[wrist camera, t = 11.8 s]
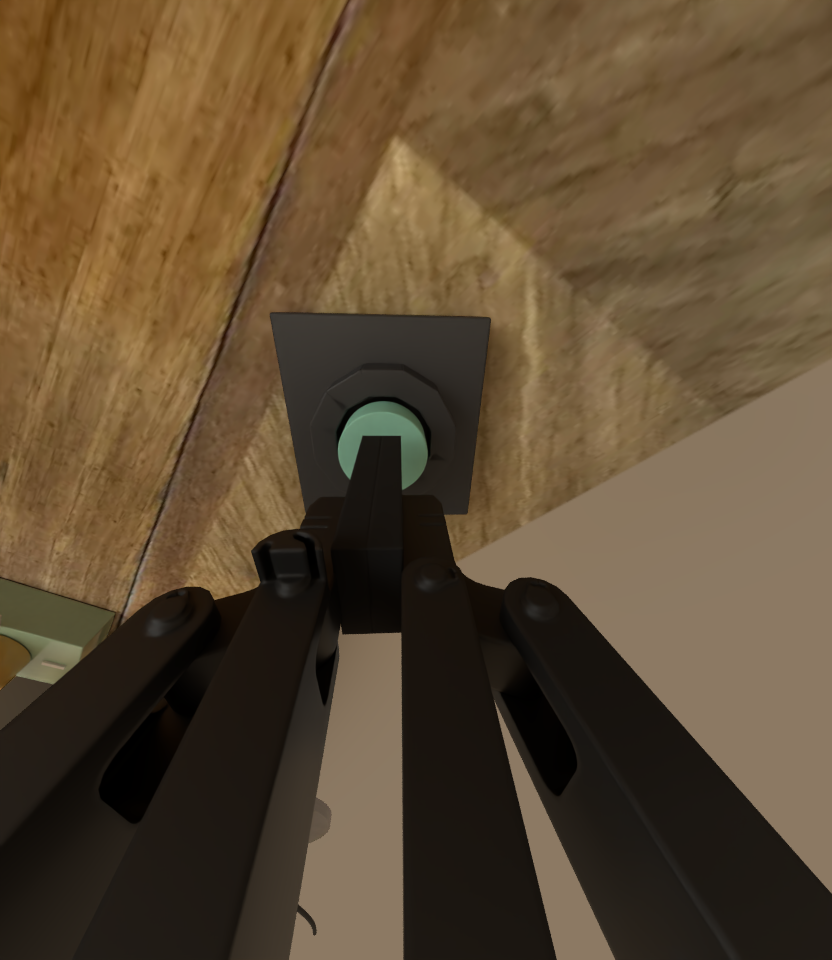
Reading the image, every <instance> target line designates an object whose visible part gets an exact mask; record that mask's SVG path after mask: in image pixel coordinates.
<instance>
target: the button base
mask: <svg viewBox="0 0 832 960" xmlns="http://www.w3.org/2000/svg"><path fill="white" fill-rule="evenodd" d="M270 319H271V324H272V330H273V335H274V341H275V346H276V352H277V357H278V363H279V368H280V374H281V380H282V385H283V391H284V396H285V402H286V407H287V413H288V418H289V424H290V429H291V435H292V440H293V446H294V451H295V457H296V463H297V468H298V474H299V479H300V485H301V490H302V496H303V501H304V507H305V512H306V513H307V510H308V508H309V506H310V505H311V504H313V503H314V502H315V501H316V500H317V499H318V498H320V497H345V496H346V492H347V489H348V485H349V482H350V479H349V478H348V477H347V476H346V474H345V473H344V471H343V469H342V467H341V465H340V462H339V458H338V444H339V440H340V437H341V435H342V433H343V430H344V428H345V426H346V424H347V422H348V420H349V418H350V417H351V416H352V415H353V413H354V412H356V411H357V410H358V409H359V408H361V407H363V406H365V405H367V404H369V403H373V402H378V401H387V402H393V403H397V404H400V405H402V406H404V407H406V408H407V409H409V410H410V411H411V412H412V413H413V414H414V415H415V416H416V417H417V418H418V420H419V421H420V423H421V425H422V427H423V430H424V434H425V439H426V444H427V449H428V457H427V462H426V466H425V468H424V471H423V472H422V474H421V475H420V477H419V478H418V479H417V480H416V481H415V482H414V483H413V484H411V485H410V486H409V487H407V488H405V489H403V490H402V495H434V496H435V497H436V498H437V499H438V500H439V501H440V502H441V503H442V507H443V512H444V515H454V514H467V513H468V505H469V497H470V489H471V480H472V472H473V464H474V456H475V447H476V439H477V431H478V423H479V414H480V406H481V398H482V390H483V381H484V373H485V365H486V357H487V348H488V340H489V332H490V324H491V318H489V317H473V316H429V315H386V314H342V313H298V312H272V313H270Z"/></svg>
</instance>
